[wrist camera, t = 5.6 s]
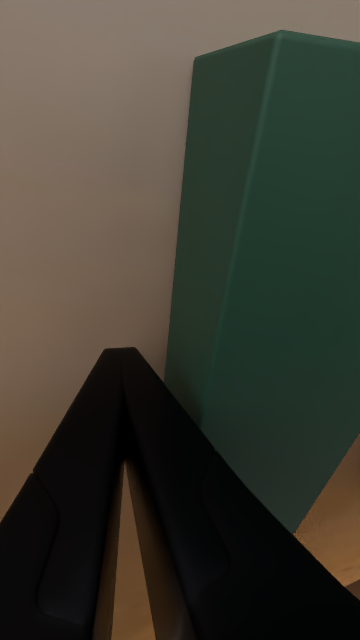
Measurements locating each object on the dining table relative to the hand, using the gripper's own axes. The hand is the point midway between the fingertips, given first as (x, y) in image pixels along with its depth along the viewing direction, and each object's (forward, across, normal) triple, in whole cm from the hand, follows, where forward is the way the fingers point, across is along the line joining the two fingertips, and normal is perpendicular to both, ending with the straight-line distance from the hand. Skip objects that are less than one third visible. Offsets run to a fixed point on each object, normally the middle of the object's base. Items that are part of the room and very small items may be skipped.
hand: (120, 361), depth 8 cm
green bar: (+1, -3, 0) cm, 4 cm away
